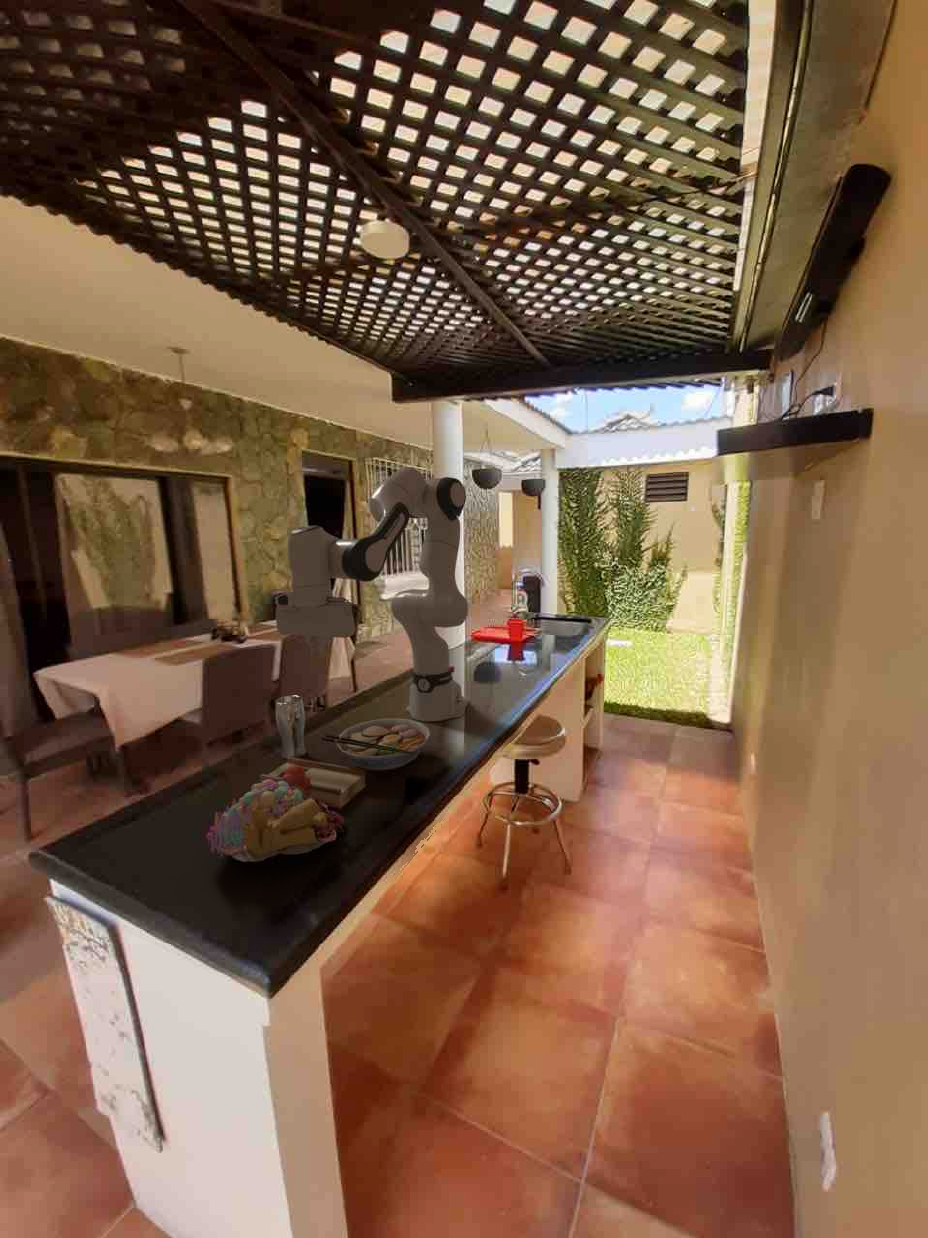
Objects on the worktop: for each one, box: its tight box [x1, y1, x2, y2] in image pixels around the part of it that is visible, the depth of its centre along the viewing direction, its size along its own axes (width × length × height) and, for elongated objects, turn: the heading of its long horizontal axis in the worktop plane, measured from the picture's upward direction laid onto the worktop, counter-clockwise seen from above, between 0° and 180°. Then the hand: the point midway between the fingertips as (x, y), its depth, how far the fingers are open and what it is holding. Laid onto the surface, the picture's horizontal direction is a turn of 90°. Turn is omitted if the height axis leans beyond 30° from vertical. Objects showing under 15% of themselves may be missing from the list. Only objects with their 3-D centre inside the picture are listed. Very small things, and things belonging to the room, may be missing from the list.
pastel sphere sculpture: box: [205, 764, 346, 863], centre depth 91 cm, size 25×24×9 cm
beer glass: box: [274, 694, 307, 760], centre depth 126 cm, size 7×7×15 cm
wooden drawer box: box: [259, 757, 366, 810], centre depth 109 cm, size 10×21×4 cm, turn 69°
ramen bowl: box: [320, 717, 431, 771], centre depth 120 cm, size 25×23×8 cm
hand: (318, 653), depth 117 cm, fingers closed
